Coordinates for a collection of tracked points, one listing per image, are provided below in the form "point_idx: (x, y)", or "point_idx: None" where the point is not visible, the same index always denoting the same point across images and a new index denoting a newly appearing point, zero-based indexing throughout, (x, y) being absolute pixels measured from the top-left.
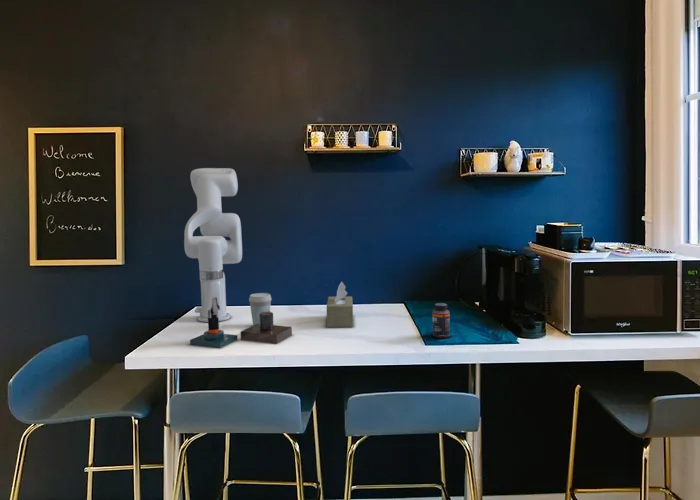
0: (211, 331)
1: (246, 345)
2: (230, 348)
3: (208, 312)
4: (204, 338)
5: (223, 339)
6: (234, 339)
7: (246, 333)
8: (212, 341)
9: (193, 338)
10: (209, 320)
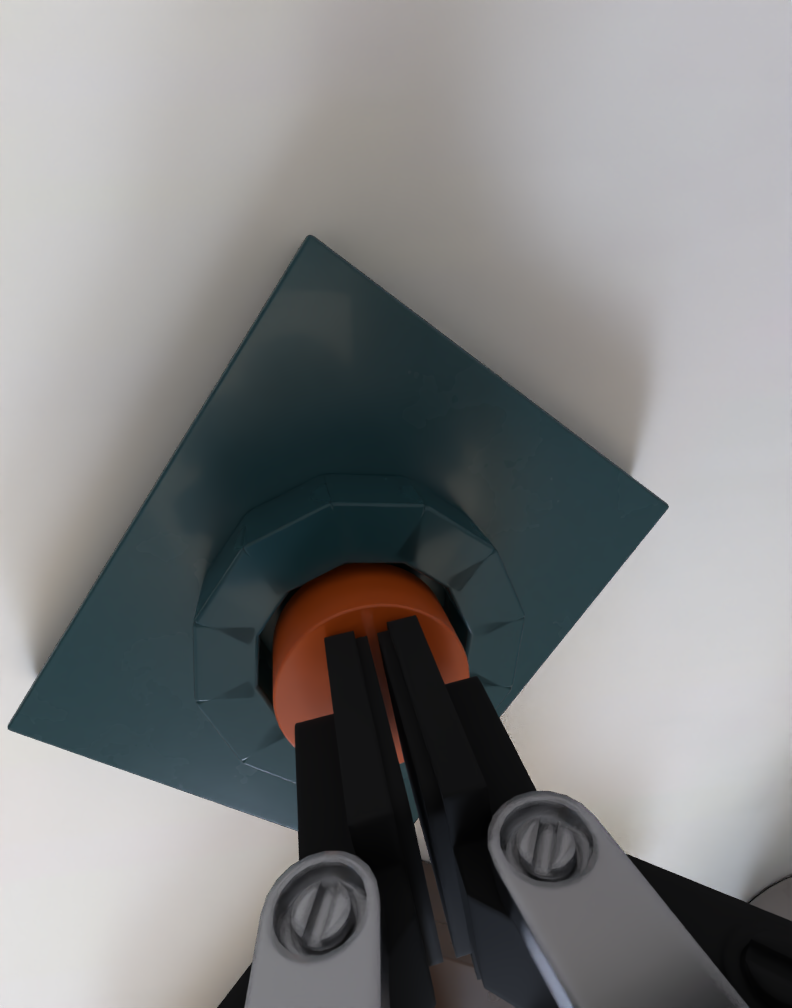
0: (276, 662)
1: (129, 918)
2: (20, 789)
3: (552, 962)
4: (295, 490)
5: (213, 744)
6: None
7: None
8: (126, 617)
9: (383, 299)
10: (348, 791)
